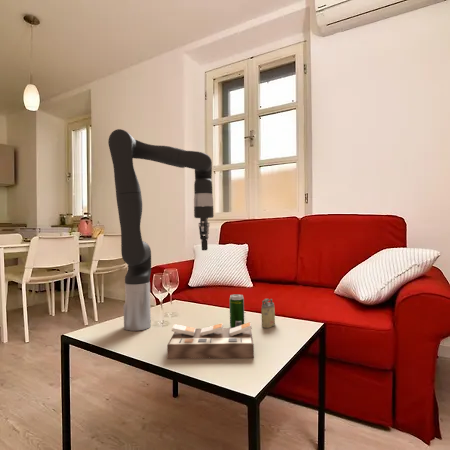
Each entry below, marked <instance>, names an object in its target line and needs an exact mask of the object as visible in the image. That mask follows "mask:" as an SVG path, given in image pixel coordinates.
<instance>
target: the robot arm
mask: <svg viewBox="0 0 450 450" xmlns="http://www.w3.org/2000/svg"><path fill="white" fill-rule="evenodd" d="M107 140H108V147H109V153H110V156H111V161H112V166H113V174H114V175H113V178H114V187H115V198H116V205H117V212H118V220H119V226H120V243H121V245H120V246H121V247H120V249H121V251H120V252H121V253H120V254H121V258H122V260H123V261H124V263H125V264H126V265H127V271H126V273H125V276H124V292H125V293H124V295H125V301H124V303H123V330H127V331H131V332H133V331H134V332H137V331H144V330H147V329H150V327H151V326H152V324H151V323H152V322H151V321H152V319H151V318H152V317H151V282H150V281H151V280H150V278H151V273H152V251H151V247H150V245H149V244H148V243H147V242H146V241H144V240H143V237H142V231H141V223H142V222H141V221H142V216H143V215H142V214H143V199H142V198H143V197H142V191H141V185H140V183H139V179H138V175H137V173H136V170H135V167H134V161H133V159H137V160H146V161H153V162H155V163H161V164H164V165H168V166H171V167H172V166H173V167H176V168H182V169H185V168H188V169H191V170H194V179H195V180H194V185H193V187H194V188H193V189H194V190H193V191H194V192H193V193H194V195H193V196H194V197H193V216H194V218H195V219H199V220H200V221H199V222H198V231H199V237H200V238H199V239H200V243H201V251H208V241H209V234H210V225H211V224H210V222H208V221H209V219H211V218H214V216H215V215H214V197H213V181H212V175H213V161H212V158H211V157H210V155H209V154H207V153H205V152H202V151H195V150H187V149H186V150H185V149H181V148H178V147H174V146H168V145H155V144H149V143H145V142H143V141H140V140H137V139H136V138H134V137H133V135H132V134H130V133H129V132H128V131H127V130H124V129H123V128H122V129H120V128H118V129H115V130H113V131H112V132H111V133H110V135H109V137H108V139H107Z"/></svg>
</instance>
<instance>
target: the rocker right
mask: <svg viewBox="0 0 450 450" xmlns="http://www.w3.org/2000/svg"><path fill="white" fill-rule="evenodd" d="M230 328H231V327H230ZM248 330H251V331H252V330H253V327H252V323H251V322H246V323H245V322H244V324H243V325H240V326H237V327H234V328H231V329H230V336H233V335H236V334H239V333H242V332H245V331H248Z"/></svg>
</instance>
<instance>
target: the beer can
mask: <svg viewBox="0 0 450 450" xmlns="http://www.w3.org/2000/svg"><path fill="white" fill-rule="evenodd" d="M244 312H245V298H244V295H243V294H238V293H237V294H234V293H233V294H230V296H229V328H234V327H237V326H240V325H243V324H245V317H244V316H245V314H244Z"/></svg>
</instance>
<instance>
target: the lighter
mask: <svg viewBox="0 0 450 450" xmlns="http://www.w3.org/2000/svg"><path fill="white" fill-rule="evenodd" d="M261 303H262V304H261V309H260V310H261V327H262V328H264V329H270V328H271V327H274V326H275V325H276V316H275V315H276V312H275V308H276V307H275V302H273V298H270V299H269V298H264V299H263V300H262V301H261Z"/></svg>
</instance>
